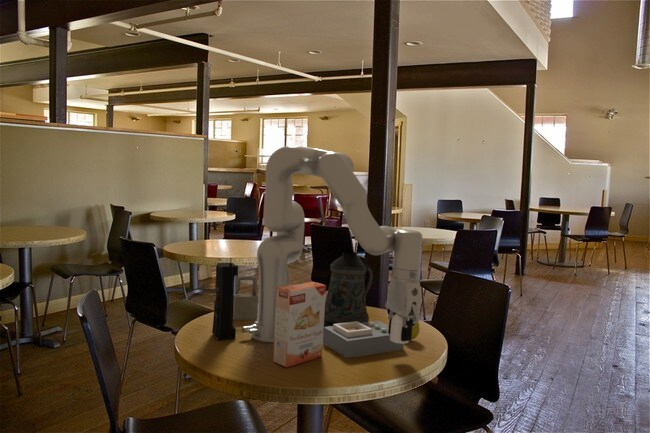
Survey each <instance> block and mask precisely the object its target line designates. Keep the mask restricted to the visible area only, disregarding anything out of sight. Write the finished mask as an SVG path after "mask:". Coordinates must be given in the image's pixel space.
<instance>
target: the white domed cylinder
mask: <svg viewBox="0 0 650 433" xmlns="http://www.w3.org/2000/svg"><path fill="white" fill-rule="evenodd" d="M408 321H409V318H407V322H408ZM402 327H404V324H403V316H401V315H399V314H395V315H394V316H393V318H392V321H391V331H390V341H392V342H395V343H400V344H404V345H405V344H408V343H409V341H401V332H402Z"/></svg>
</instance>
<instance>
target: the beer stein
mask: <svg viewBox="0 0 650 433" xmlns="http://www.w3.org/2000/svg"><path fill="white" fill-rule="evenodd" d="M367 262H368V259H367V258H366V257H364V256H361V255H358V254H357V252H356V251H355V252H354V251H343V253H342V255H341V256H339V257H338V258H337V259H335V260H334V261H333V262H332V263H331V264H330V268H329V269H330V272H331V275H330V280H329V284H328V285H329V286H328V290H327V293H326V294H327V295H326V297H325V312H324V327H328V326H333V324H338V323H347V322H356V321H357V322H359V323H362V322H370V316H369V313H368V311H367V310H368V309H367V303H366V302H367V301H366V297H367V295H368V292H369V291H370V289H371V287H372V283H373V276H374V275H373V270H372V267H371V265H370V264H368V263H367Z"/></svg>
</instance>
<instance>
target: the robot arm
mask: <svg viewBox="0 0 650 433" xmlns="http://www.w3.org/2000/svg"><path fill="white" fill-rule="evenodd" d="M265 166H266V167H265V188H264V189H265V190H264V200H263V201H264V202H263V203H264V204H263V217H262V218H263V224H264V226H265V228H266V229H267V230H268V231H270V232H273V233H274V232H275V233H276V235H273V236H269V237H267V238H264V239H263V240H262V241H261V242H260V243H259V245H258V248H257V250H256V259H257V266H258V318H257V321H256V320H255V321H254V324H252V325H245V326H244V325H243V326H242V329H241V330H242V333H243V334H244V333H245V334H246V333H249V334H251V335H252V338H253V339H254V340H255V341H259V342H261V343H270V344H274V335H275V314H276V294H277V287H283V286H289V285H291V283H290V282H291V281H290V279H291V278H290V273H289V268H288V265H289V264H291V263H294V262H296V261H297V260H298V259H300V257H301V256H302V254H303V248H304V237H305V236H304V235H305V222H306V221H305V218H306V217H305V212H304V209H303V207H302V205H301V204H299V203H298V202H297V201H294V200H293V193H294V185H293V180H292V176H294V175H308V176H313V177H318V178H321V179H322V181H323V182H324V184H325V185H326V186H327V188H328V189H329V191H330V192H331V194H332V195H333V196H334V199H335V200H336V201H337V202H338V204H339V205H340V207H341V209H342V213H343V216H344V218H345V221H346V224H347V226H348V228H349V230H350V232H351V233H352V235H353V236H354V238H355V239H356V241H357V243H359V245H360V247H361V248H362V249H363V250H364V251H365V252H366V253H368V254H369V255H372V256H380V255H383V254H385V253H390V252H393V258H392V267H391V277H390V280H389V285H388V291H387V295H386V296H387V298H386V302H385V304H384V306H385V309H386V312H387V314H388V317H387V318H388V320H389V321H388V326H389V329H388V334H390V331H391V321H392V318H393V316H394V315H395V314H399V315H401V316H403V324H404V327H402V332H401V341H408V342H410V340H411V336H412V327H414V325H415V324H416V322H418V323H419V321H420V320H421V317H420V315H421V302H422V301H421V300H422V298H421V297H422V296H421V295H422V294H421V293H422V292H421V290H422V289H421V282H420V281H419V277H420V265H421V257H422V256H421V255H422V247H423V234H422V233H421V232H420V231H417V230H412V229H401V228H396V227H392V226H389V225H388V226H387V225H379V224H378V222H377V221H376V219H375V218H374V217H373V215H372V213H371V211H370V209H369V207H368V202H367V201H368V198H367V197H368V194H367V190H366V189H365V187H364V186H363V185H362V183H361V182H360V180H359V179H358V177H357V176H356V174H355V173H354V171H355V164H354V161H353V159H352V158H351V157H350V156H348V155H347V154H346V153H344V152H343V153H342V152H336V151H329V150H324V149H319V148H313V147H308V146H303V145H297V144H296V145H292V144H291V145H290V144H289V145H285V146H282V147H280V148H278V149H276V150H275V151H274V152H272V154H271V155H270V156H269V157H268V160H267V163H266V165H265ZM407 318H409V321H408V322H407ZM411 341H412V340H411Z"/></svg>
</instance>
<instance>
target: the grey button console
mask: <svg viewBox="0 0 650 433" xmlns="http://www.w3.org/2000/svg"><path fill="white" fill-rule="evenodd" d="M352 328H355V329H357V330H352V331H348V330H346V329H352ZM388 329H389V324H386V323H384V322H382V321H380V320H372V321H370V320H369V321H368V322H362V323H359V322H357V321H356V322H347V323H338V324H333V326H328V327H324V329H323V345H325V346H327V347H328V348H329V349H331V350H333V351H334V352H336V353H338V355H339V354H340V356H342V357H343V358H346V359H349V358H355V357H356V358H357V357H362V356H369V355H377V354H382V353H388V352H395V351H396V352H397V351H402V350H404V346H405V344H400V343H395V342H392V341H390V334H388Z"/></svg>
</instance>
